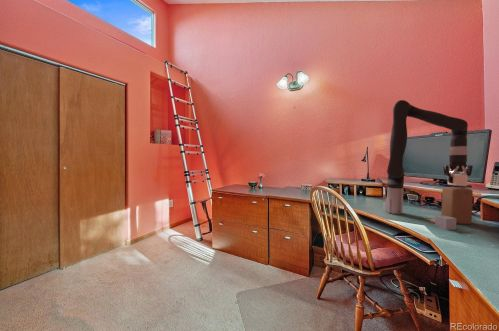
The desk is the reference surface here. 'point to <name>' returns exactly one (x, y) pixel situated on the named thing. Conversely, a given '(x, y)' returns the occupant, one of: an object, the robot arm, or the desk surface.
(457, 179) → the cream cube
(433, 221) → the tile
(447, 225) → the mauve cube
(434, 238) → the desk surface
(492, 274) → the desk surface
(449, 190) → the wooden block
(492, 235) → the desk surface
